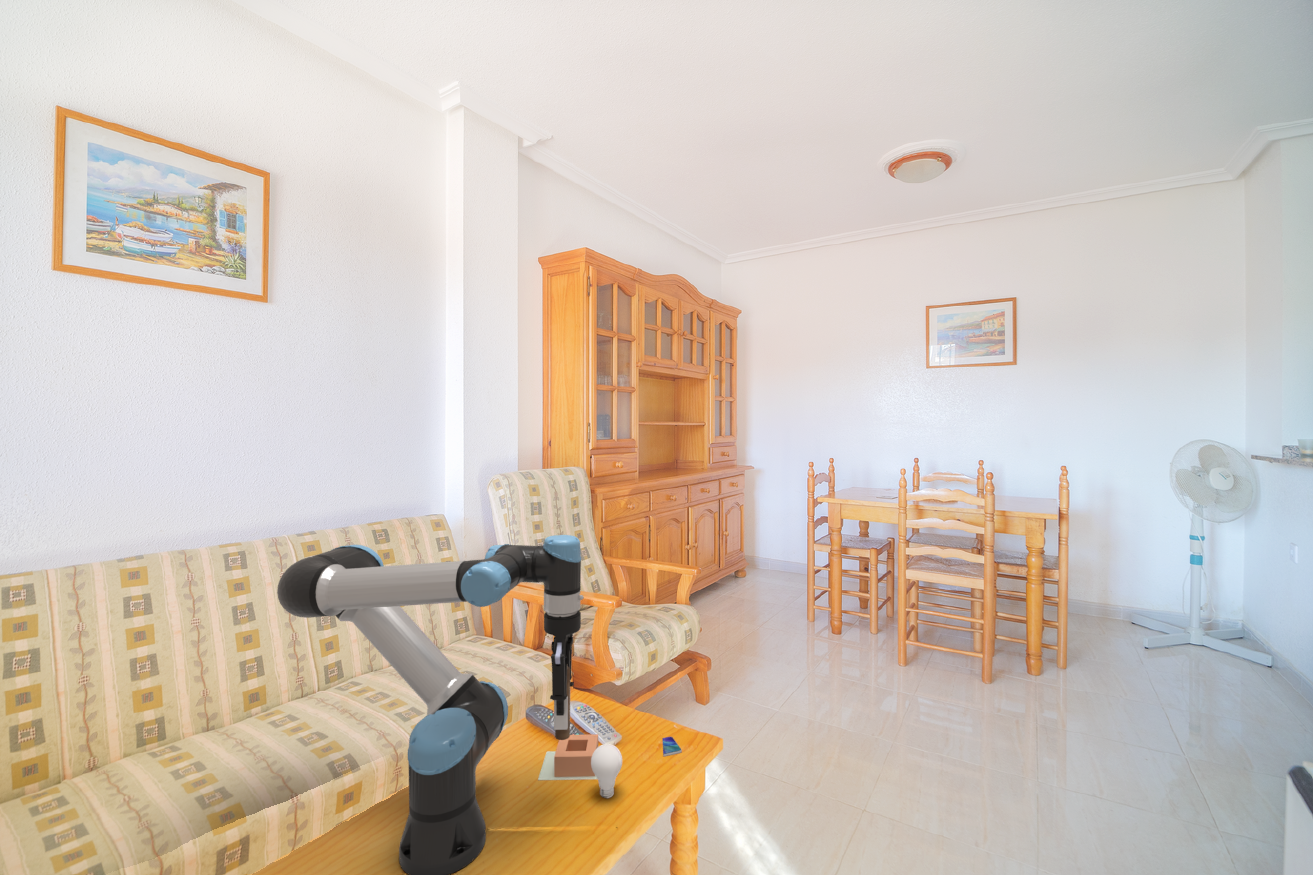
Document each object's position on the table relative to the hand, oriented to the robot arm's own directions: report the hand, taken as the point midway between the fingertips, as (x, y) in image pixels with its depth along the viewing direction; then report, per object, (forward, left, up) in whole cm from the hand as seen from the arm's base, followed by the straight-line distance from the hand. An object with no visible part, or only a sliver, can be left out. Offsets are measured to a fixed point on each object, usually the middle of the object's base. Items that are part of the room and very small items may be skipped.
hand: (562, 723), depth 116 cm
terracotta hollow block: (+1, +13, -16) cm, 21 cm away
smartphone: (+18, +20, -18) cm, 32 cm away
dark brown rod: (0, 0, -3) cm, 3 cm away
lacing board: (+1, +13, -17) cm, 22 cm away
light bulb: (+9, +2, -17) cm, 20 cm away
